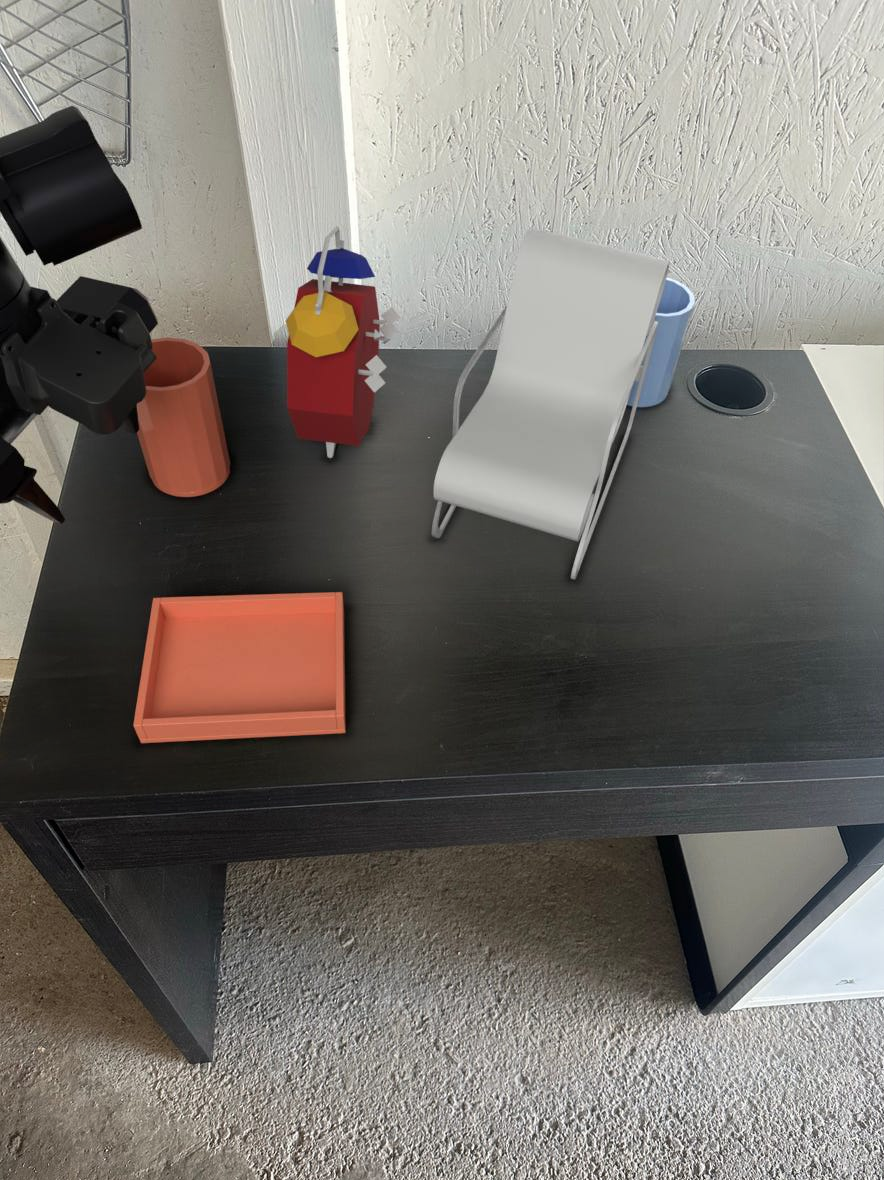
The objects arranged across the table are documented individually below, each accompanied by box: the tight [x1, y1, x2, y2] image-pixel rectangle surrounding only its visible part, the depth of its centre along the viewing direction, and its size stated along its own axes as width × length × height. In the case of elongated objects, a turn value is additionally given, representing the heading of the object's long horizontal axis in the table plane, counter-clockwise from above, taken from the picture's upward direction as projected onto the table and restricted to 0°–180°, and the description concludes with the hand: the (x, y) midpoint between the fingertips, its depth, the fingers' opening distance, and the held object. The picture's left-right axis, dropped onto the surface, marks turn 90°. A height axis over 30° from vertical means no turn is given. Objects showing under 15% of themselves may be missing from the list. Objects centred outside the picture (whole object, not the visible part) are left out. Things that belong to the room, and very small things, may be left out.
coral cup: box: [136, 336, 231, 498], centre depth 80 cm, size 7×7×12 cm
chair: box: [431, 226, 671, 580], centre depth 79 cm, size 13×25×20 cm, turn 161°
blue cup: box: [626, 277, 696, 408], centre depth 93 cm, size 7×7×11 cm
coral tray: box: [132, 591, 347, 744], centre depth 70 cm, size 15×12×2 cm
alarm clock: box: [285, 225, 401, 459], centre depth 82 cm, size 15×9×20 cm, turn 174°
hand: (97, 474), depth 65 cm, fingers open, 9 cm apart
